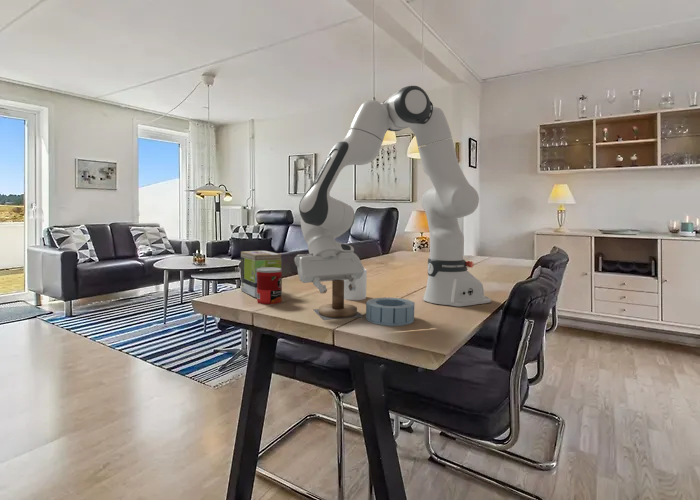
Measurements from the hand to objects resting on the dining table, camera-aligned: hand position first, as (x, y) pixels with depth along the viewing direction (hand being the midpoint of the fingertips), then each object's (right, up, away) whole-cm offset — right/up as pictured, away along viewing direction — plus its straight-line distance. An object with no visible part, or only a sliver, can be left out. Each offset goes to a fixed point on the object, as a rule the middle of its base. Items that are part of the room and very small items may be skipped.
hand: (338, 290), depth 120 cm
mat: (0, -7, +1) cm, 7 cm away
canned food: (-23, -5, +15) cm, 28 cm away
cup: (+3, -5, +23) cm, 24 cm away
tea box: (-29, -4, +29) cm, 41 cm away
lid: (0, -7, +1) cm, 7 cm away
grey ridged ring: (+14, -8, -5) cm, 17 cm away
